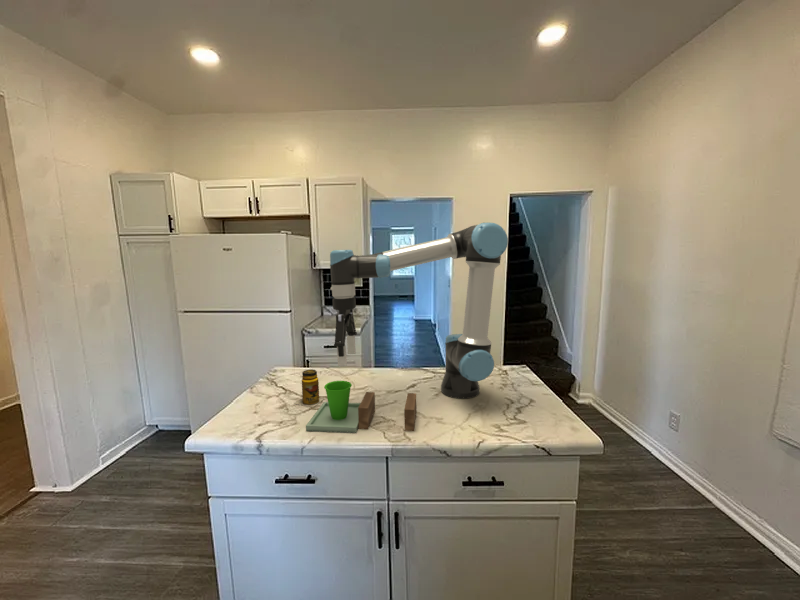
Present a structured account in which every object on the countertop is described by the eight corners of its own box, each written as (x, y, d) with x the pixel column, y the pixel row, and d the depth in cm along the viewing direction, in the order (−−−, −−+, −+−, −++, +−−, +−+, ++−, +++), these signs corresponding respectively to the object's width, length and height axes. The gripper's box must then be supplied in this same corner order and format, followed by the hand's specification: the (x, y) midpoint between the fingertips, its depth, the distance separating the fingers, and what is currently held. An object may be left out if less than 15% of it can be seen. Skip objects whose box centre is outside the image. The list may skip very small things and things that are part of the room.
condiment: (314, 407, 128) (312, 375, 127) (293, 404, 131) (292, 373, 129) (324, 399, 135) (322, 368, 134) (304, 396, 138) (303, 367, 136)
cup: (347, 424, 114) (346, 391, 112) (321, 421, 115) (319, 389, 114) (356, 411, 122) (355, 381, 121) (331, 409, 124) (330, 379, 123)
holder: (416, 412, 122) (416, 393, 122) (414, 431, 110) (414, 409, 109) (366, 411, 124) (366, 392, 123) (358, 429, 111) (358, 408, 111)
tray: (367, 408, 127) (367, 403, 127) (356, 433, 109) (356, 427, 109) (324, 406, 128) (323, 401, 128) (306, 431, 111) (305, 425, 110)
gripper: (341, 293, 129) (345, 349, 132) (321, 302, 105) (325, 371, 108) (362, 292, 129) (364, 349, 132) (346, 301, 104) (350, 371, 107)
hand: (347, 359), depth 120 cm, fingers open, 13 cm apart
